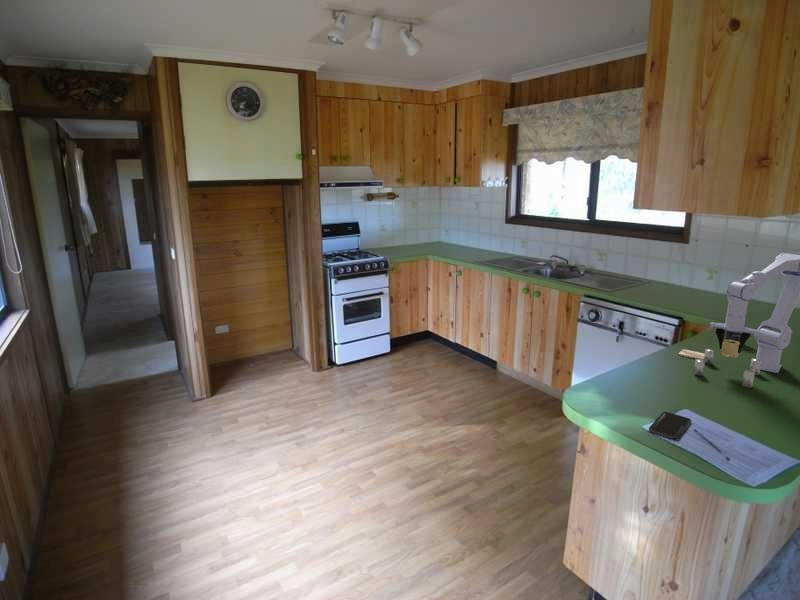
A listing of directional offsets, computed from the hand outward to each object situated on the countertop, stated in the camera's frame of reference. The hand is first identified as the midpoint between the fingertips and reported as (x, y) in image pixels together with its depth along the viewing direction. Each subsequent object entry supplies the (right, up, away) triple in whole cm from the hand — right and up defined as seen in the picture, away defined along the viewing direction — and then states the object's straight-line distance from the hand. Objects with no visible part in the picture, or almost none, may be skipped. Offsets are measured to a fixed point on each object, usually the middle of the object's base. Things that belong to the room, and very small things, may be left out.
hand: (730, 350), depth 174 cm
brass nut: (0, -2, 0) cm, 2 cm away
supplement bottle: (+26, -1, +35) cm, 43 cm away
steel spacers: (0, -9, +2) cm, 9 cm away
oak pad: (-1, -4, +21) cm, 21 cm away
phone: (-42, -19, -34) cm, 57 cm away
